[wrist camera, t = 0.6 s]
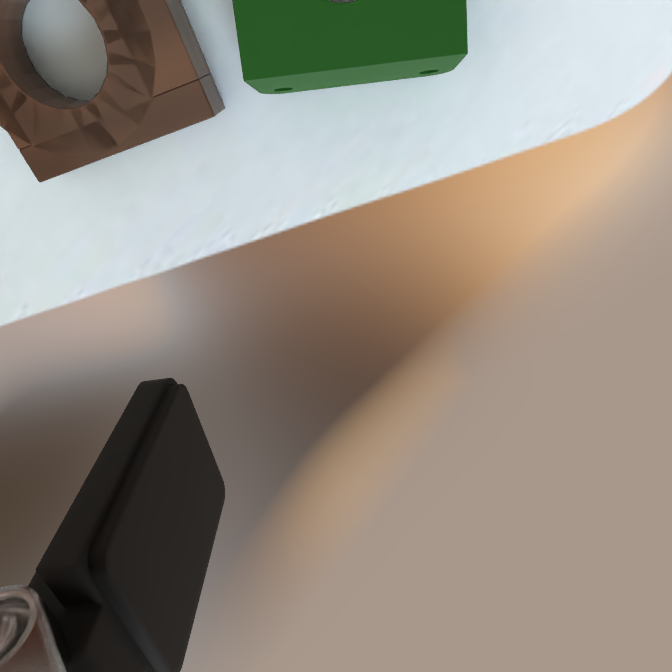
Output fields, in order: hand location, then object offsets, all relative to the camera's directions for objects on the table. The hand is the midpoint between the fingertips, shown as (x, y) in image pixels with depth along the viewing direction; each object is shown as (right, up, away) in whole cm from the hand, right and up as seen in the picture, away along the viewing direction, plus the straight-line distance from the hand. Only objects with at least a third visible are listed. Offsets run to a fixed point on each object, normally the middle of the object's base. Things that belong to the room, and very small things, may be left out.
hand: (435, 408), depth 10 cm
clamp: (-1, +20, +20) cm, 28 cm away
